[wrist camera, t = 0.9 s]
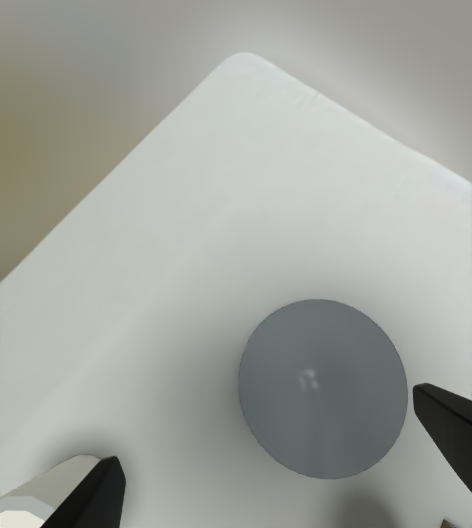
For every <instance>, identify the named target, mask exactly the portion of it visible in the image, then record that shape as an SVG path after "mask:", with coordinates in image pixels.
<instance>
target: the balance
mask: <svg viewBox="0 0 472 528" xmlns="http://www.w3.org/2000/svg"><path fill="white" fill-rule="evenodd" d="M441 528H456V527H454V526H453V525H451V524H450V523H448V522H447V521H445V520H444V521H443V524H442V527H441Z"/></svg>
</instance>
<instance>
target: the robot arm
mask: <svg viewBox="0 0 472 528" xmlns="http://www.w3.org/2000/svg"><path fill="white" fill-rule="evenodd" d="M413 403H414V411H415V414H416V416H417V417H418V419H419V420H420V422H421V423H422V425H423V426H424V428H425V429H426V431H427V432H428V433H429V435H430V436H431V438H432V439H433V441H434V442H435V444H436V445H437V447H438V448H439V450H440V451H441V453H442V454H443V456H444V457H445V458H446V460H447V461H448V463H449V464H450V466H451V467H452V468H453V470H454V471H455V472H456V474H457V475H458V476H459V477H460V479H461V480H462V481H463V482H464V484H465V485H466V486H467V487H468V489H469V490H470V491H471V492H472V401H471V400H469V399H467V398H464V397H462V396H459V395H457V394H454V393H452V392H449V391H447V390H444V389H442V388H439V387H437V386H434V385H432V384H429V383H423V384H419V385H415V386H414V387H413ZM125 486H126V480H125V475H124V473H123V470H122V467H121V465H120V462H119V459H118V457H117V456H111V457H106V458H103V459H101V460H100V461H99V462H98V463H97V464H96V465H95V466H94V468H93V469H92V470H91V471H90V472H89V473H88V474H87V475H86V476H85V478H84V479H83V480H82V481H81V482H80V483H79V484H78V485H77V487H76V488H75V489H74V490H73V491H72V492H71V493H70V494H69V495H68V497H67V498H66V499H65V500H64V501H63V502H62V503H61V504H60V506H59V507H58V508H57V509H56V510H55V511H54V512H53V513H52V514H51V516H50V517H49V518H48V519H47V520H46V521H45V522H44V523H43V525H42V526H41V527H40V528H119V526H120V520H121V513H122V506H123V500H124V493H125Z"/></svg>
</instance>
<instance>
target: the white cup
mask: <svg viewBox="0 0 472 528" xmlns="http://www.w3.org/2000/svg"><path fill="white" fill-rule="evenodd" d="M99 461H100V459H98V458H96V457H95V456H93V455H77V456H75V457H73V458H70V459H68V460H66V461H64V462H62V463H60V464H58V465H57V466H55V467H53V468H51V469H50V470H48V471H46V472H44V473H42V474H41V475H39V476H37V477H35V478H34V479H32V480H30V481H28V482H27V483H25V484H23V485H21V486H20V487H18V488H16V489H14V490H12V491H11V492H9V493H7V494H5V495H4V496H2V497H0V528H40V527H41V526H42V525H43V523H44V522H45V521H46V520H47V519H48V518H49V517H50V516H51V514H52V513H53V512H54V511H55V510H56V509H57V508H58V507H59V506H60V504H61V503H62V502H63V501H64V500H65V499H66V498H67V497H68V495H69V494H70V493H71V492H72V491H73V490H74V489H75V488H76V487H77V485H78V484H79V483H80V482H81V481H82V480H83V479H84V478H85V476H86V475H87V474H88V473H89V472H90V471H91V470H92V469H93V468H94V466H95V465H96V464H97V463H98V462H99Z"/></svg>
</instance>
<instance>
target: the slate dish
mask: <svg viewBox="0 0 472 528" xmlns="http://www.w3.org/2000/svg"><path fill="white" fill-rule="evenodd" d="M239 394H240V401H241V405H242V409H243V413H244V416H245V418H246V421H247V423H248V425H249V427H250V429H251V431H252V433H253V435H254V436H255V438H256V439H257V440H258V442H259V443H260V445H261V446H262V447H263V448H264V449H265V450H266V451H267V452H268V453H269V454H270V455H271V456H272V457H273V458H274V459H275V460H277V461H278V462H279V463H281V464H282V465H284V466H285V467H287V468H289V469H291V470H293V471H295V472H297V473H299V474H302V475H306V476H309V477H313V478H320V479H338V478H345V477H349V476H352V475H356V474H358V473H360V472H362V471H365V470H367V469H368V468H370V467H371V466H373V465H374V464H376V463H377V462H378V461H379V460H380V459H381V458H383V457H384V456H385V455H386V454H387V452H388V451H389V450H390V449H391V447H392V446H393V444H394V443H395V441H396V439H397V438H398V436H399V434H400V431H401V429H402V426H403V424H404V420H405V416H406V411H407V403H408V389H407V381H406V375H405V371H404V367H403V364H402V362H401V359H400V356H399V354H398V352H397V350H396V349H395V347H394V345H393V343H392V342H391V340H390V339H389V337H388V336H387V335H386V334H385V332H384V331H383V330H382V329H381V328H380V327H379V326H378V325H377V324H376V323H375V322H374V321H373V320H372V319H370V318H369V317H368V316H366V315H365V314H363V313H362V312H360V311H358V310H356V309H355V308H353V307H350V306H348V305H345V304H342V303H339V302H335V301H329V300H306V301H300V302H296V303H293V304H290V305H288V306H285V307H283V308H281V309H279V310H278V311H276V312H274V313H273V314H271V315H270V316H269V317H268V318H266V319H265V320H264V321H263V322H262V323H261V324H260V325H259V326H258V327H257V329H256V330H255V331H254V333H253V334H252V336H251V337H250V339H249V341H248V343H247V345H246V348H245V350H244V353H243V356H242V360H241V364H240V371H239Z"/></svg>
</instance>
